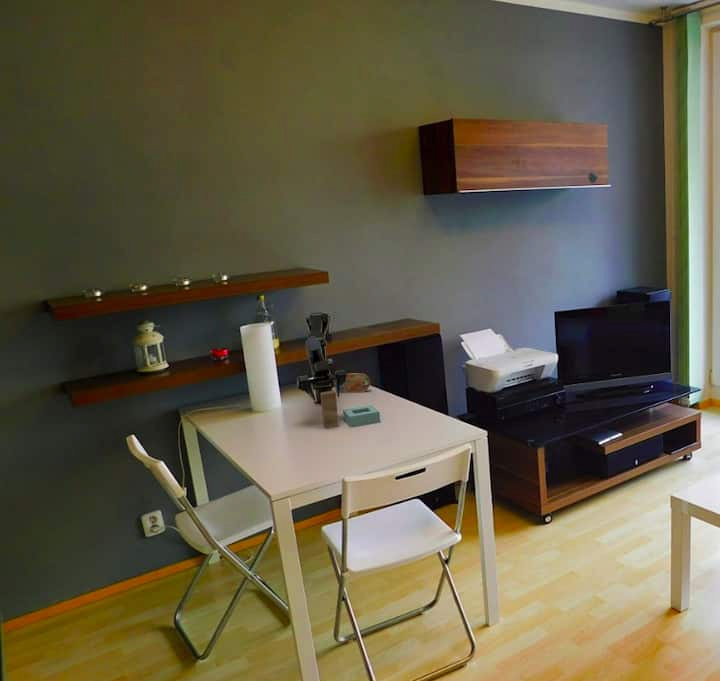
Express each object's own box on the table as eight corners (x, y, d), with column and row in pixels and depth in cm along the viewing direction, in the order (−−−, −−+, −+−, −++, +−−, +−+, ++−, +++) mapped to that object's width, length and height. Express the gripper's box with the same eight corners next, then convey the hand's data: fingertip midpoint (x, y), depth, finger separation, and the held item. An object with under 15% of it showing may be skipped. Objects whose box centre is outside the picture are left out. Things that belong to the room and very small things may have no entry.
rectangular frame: (344, 419, 233) (343, 409, 232) (372, 415, 236) (371, 405, 235) (350, 427, 224) (349, 416, 223) (380, 421, 227) (379, 411, 226)
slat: (323, 426, 228) (320, 392, 225) (336, 424, 229) (333, 390, 226) (325, 428, 225) (322, 394, 222) (338, 426, 226) (335, 392, 224)
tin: (337, 392, 272) (335, 374, 270) (339, 391, 275) (337, 372, 273) (370, 392, 268) (368, 373, 267) (371, 390, 271) (370, 372, 270)
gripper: (295, 355, 227) (303, 391, 218) (343, 349, 232) (353, 383, 223) (293, 372, 236) (301, 406, 227) (340, 365, 241) (349, 399, 232)
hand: (326, 398), depth 227 cm, fingers open, 9 cm apart
